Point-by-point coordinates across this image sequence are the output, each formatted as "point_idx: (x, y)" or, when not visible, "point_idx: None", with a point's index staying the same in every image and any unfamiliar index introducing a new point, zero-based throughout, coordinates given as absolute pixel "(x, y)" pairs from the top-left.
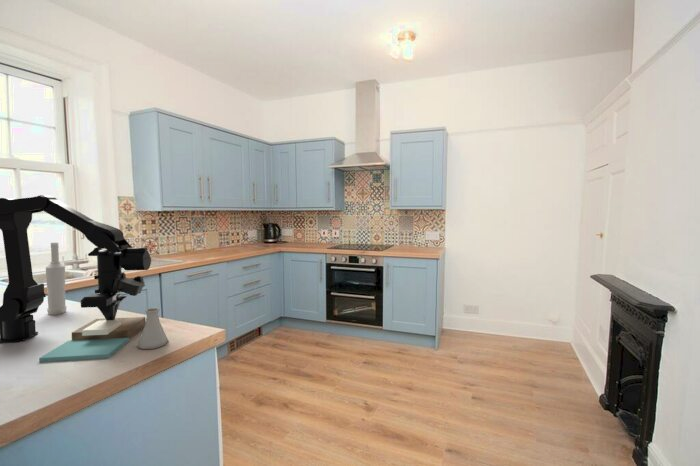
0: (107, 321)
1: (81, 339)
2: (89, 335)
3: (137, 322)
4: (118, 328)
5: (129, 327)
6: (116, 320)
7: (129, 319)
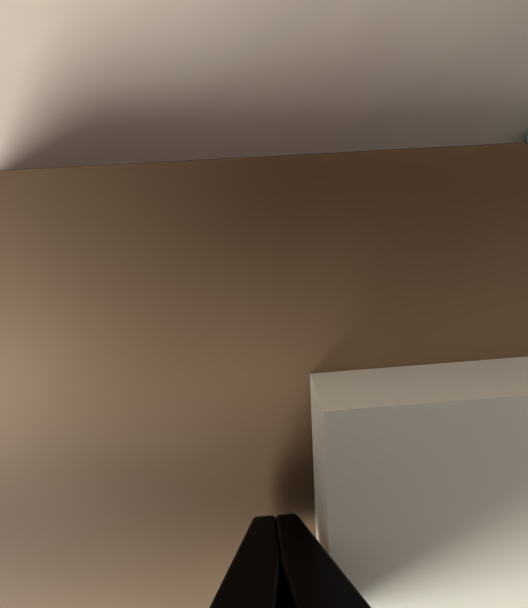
0: (399, 566)
1: None
2: None
3: (216, 167)
4: (482, 324)
5: (470, 176)
6: (363, 463)
7: (51, 382)
